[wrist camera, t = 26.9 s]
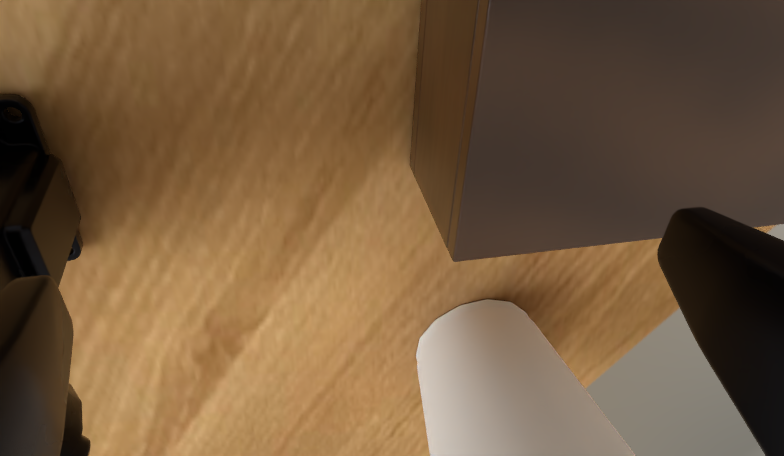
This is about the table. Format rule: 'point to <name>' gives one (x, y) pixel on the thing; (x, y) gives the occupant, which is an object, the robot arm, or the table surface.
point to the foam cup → (505, 390)
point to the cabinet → (595, 119)
